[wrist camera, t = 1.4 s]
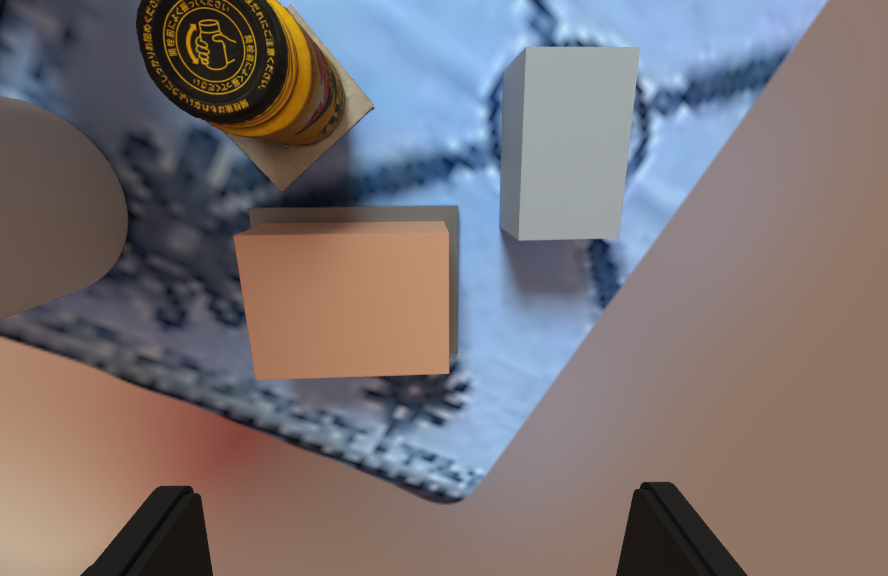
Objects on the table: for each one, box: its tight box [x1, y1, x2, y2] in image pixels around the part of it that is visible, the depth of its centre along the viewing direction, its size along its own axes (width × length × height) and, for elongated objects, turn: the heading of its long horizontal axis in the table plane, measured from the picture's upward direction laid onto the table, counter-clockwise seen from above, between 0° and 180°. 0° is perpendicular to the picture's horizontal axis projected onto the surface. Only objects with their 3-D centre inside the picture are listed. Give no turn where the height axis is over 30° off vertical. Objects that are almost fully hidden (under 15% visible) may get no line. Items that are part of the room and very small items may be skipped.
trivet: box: [248, 205, 458, 353], centre depth 30 cm, size 11×14×1 cm
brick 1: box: [234, 221, 449, 380], centre depth 27 cm, size 12×9×5 cm
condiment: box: [136, 0, 374, 192], centre depth 21 cm, size 7×8×12 cm
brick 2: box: [499, 47, 640, 241], centre depth 25 cm, size 10×6×6 cm, turn 1°
